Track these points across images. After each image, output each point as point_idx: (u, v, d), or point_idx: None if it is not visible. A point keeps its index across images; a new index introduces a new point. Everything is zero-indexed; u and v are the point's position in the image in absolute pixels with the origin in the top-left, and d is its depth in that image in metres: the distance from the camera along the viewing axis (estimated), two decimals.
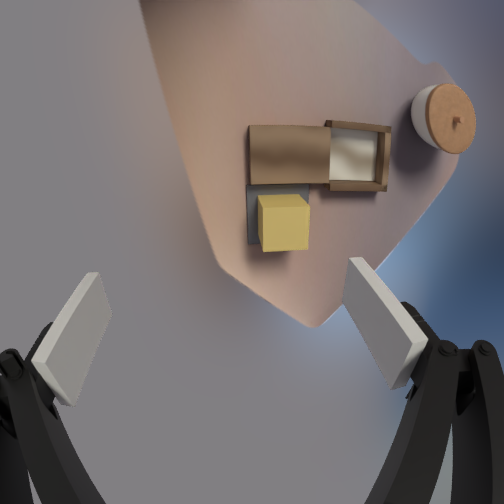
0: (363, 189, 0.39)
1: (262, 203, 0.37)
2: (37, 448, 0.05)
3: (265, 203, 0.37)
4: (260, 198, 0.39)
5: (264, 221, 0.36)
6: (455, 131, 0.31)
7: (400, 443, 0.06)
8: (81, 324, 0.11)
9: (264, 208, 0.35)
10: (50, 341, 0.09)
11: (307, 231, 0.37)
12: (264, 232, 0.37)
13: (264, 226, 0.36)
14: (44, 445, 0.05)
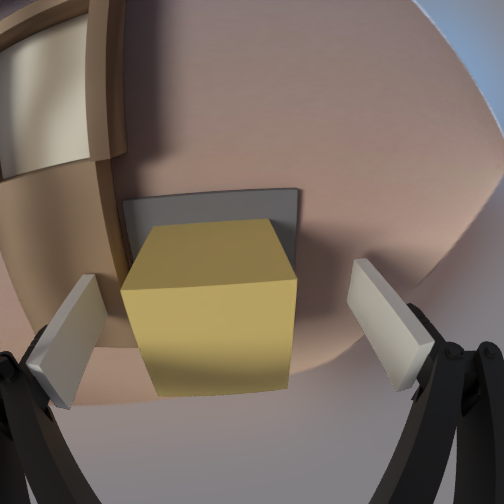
0: (101, 42, 0.08)
1: None
2: (33, 450, 0.05)
3: None
4: None
5: (194, 393, 0.12)
6: None
7: (405, 444, 0.06)
8: (76, 327, 0.11)
9: (159, 392, 0.12)
10: (44, 344, 0.08)
11: (219, 289, 0.09)
12: (227, 392, 0.12)
13: (209, 393, 0.12)
14: (40, 447, 0.05)
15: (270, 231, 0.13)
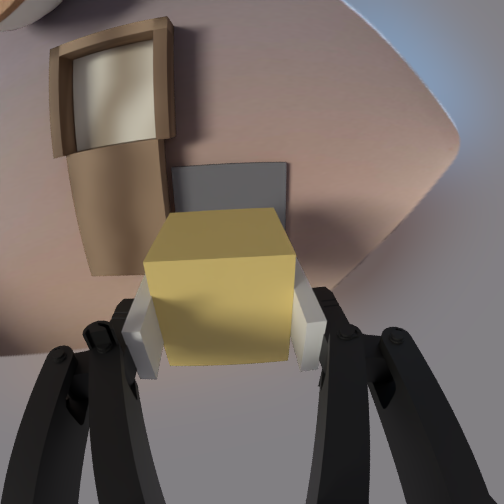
0: (163, 66, 0.16)
1: None
2: (109, 429, 0.06)
3: None
4: None
5: (203, 363, 0.14)
6: None
7: (319, 436, 0.07)
8: None
9: (171, 362, 0.13)
10: (138, 312, 0.10)
11: (229, 262, 0.11)
12: (233, 362, 0.14)
13: (216, 362, 0.14)
14: (118, 428, 0.06)
15: (274, 217, 0.15)
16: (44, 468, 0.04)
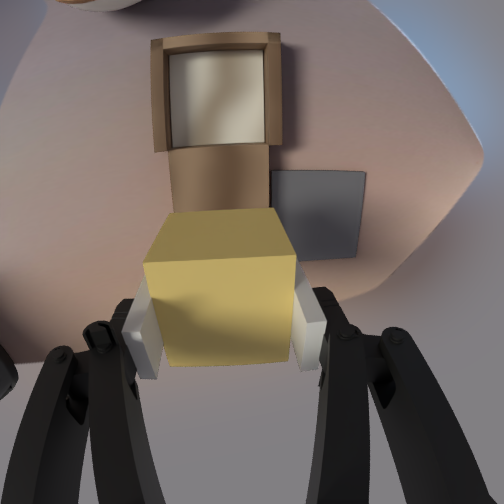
0: (278, 79, 0.19)
1: None
2: (109, 429, 0.06)
3: None
4: None
5: (203, 363, 0.13)
6: None
7: (319, 436, 0.07)
8: None
9: (170, 362, 0.13)
10: (138, 312, 0.10)
11: (229, 262, 0.11)
12: (233, 363, 0.14)
13: (216, 363, 0.13)
14: (118, 428, 0.06)
15: (275, 218, 0.15)
16: (44, 468, 0.04)
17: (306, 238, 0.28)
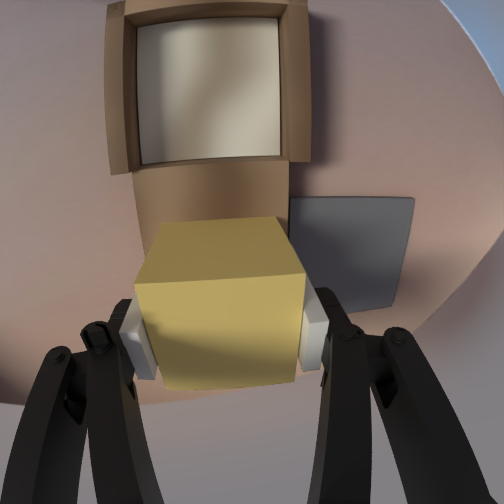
0: (305, 58, 0.11)
1: None
2: (107, 429, 0.06)
3: None
4: None
5: (203, 387, 0.12)
6: None
7: (321, 436, 0.07)
8: None
9: (168, 386, 0.12)
10: (136, 313, 0.10)
11: (231, 283, 0.10)
12: (235, 385, 0.12)
13: (218, 386, 0.12)
14: (116, 428, 0.06)
15: (278, 228, 0.14)
16: (43, 468, 0.04)
17: (334, 289, 0.20)
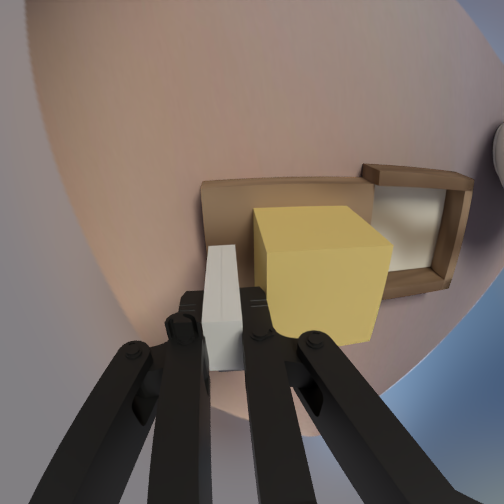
0: (416, 292, 0.21)
1: (265, 234, 0.14)
2: (178, 426, 0.06)
3: (272, 232, 0.14)
4: (260, 217, 0.16)
5: (271, 288, 0.13)
6: None
7: (252, 442, 0.07)
8: None
9: (271, 253, 0.12)
10: (214, 303, 0.11)
11: (377, 305, 0.14)
12: (270, 315, 0.13)
13: (270, 301, 0.13)
14: (188, 426, 0.06)
15: None
16: (93, 470, 0.05)
17: None
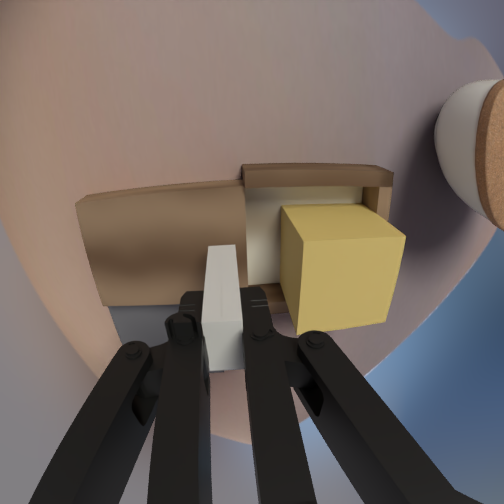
0: None
1: (374, 236, 0.14)
2: (177, 426, 0.06)
3: (370, 233, 0.15)
4: (333, 238, 0.14)
5: None
6: None
7: None
8: None
9: None
10: (214, 303, 0.11)
11: None
12: None
13: None
14: (188, 426, 0.06)
15: None
16: (93, 470, 0.05)
17: (142, 331, 0.23)
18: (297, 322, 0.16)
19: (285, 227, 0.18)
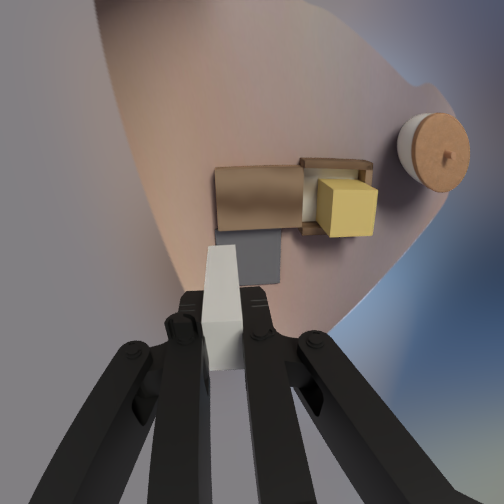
0: None
1: (363, 189, 0.32)
2: (177, 426, 0.06)
3: (361, 188, 0.33)
4: (345, 189, 0.32)
5: None
6: (445, 168, 0.30)
7: None
8: None
9: None
10: (214, 303, 0.11)
11: None
12: (374, 214, 0.34)
13: None
14: (187, 426, 0.06)
15: None
16: (93, 470, 0.05)
17: None
18: (330, 230, 0.34)
19: (321, 188, 0.36)
